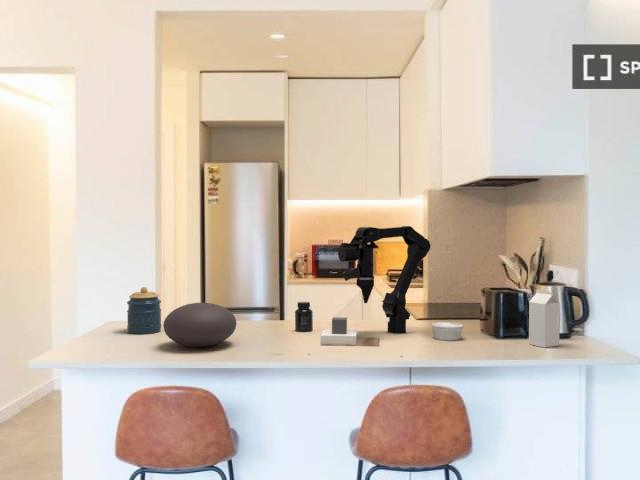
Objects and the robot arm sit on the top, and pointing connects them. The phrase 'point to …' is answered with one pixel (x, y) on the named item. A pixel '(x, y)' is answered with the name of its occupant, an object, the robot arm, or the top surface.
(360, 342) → the walnut board
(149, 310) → the canister
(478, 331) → the top surface
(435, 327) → the ramekin
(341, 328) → the charcoal cube
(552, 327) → the milk carton
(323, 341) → the socket
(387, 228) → the robot arm
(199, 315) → the smooth stone
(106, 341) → the top surface
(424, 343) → the top surface
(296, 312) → the supplement bottle
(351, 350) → the top surface
